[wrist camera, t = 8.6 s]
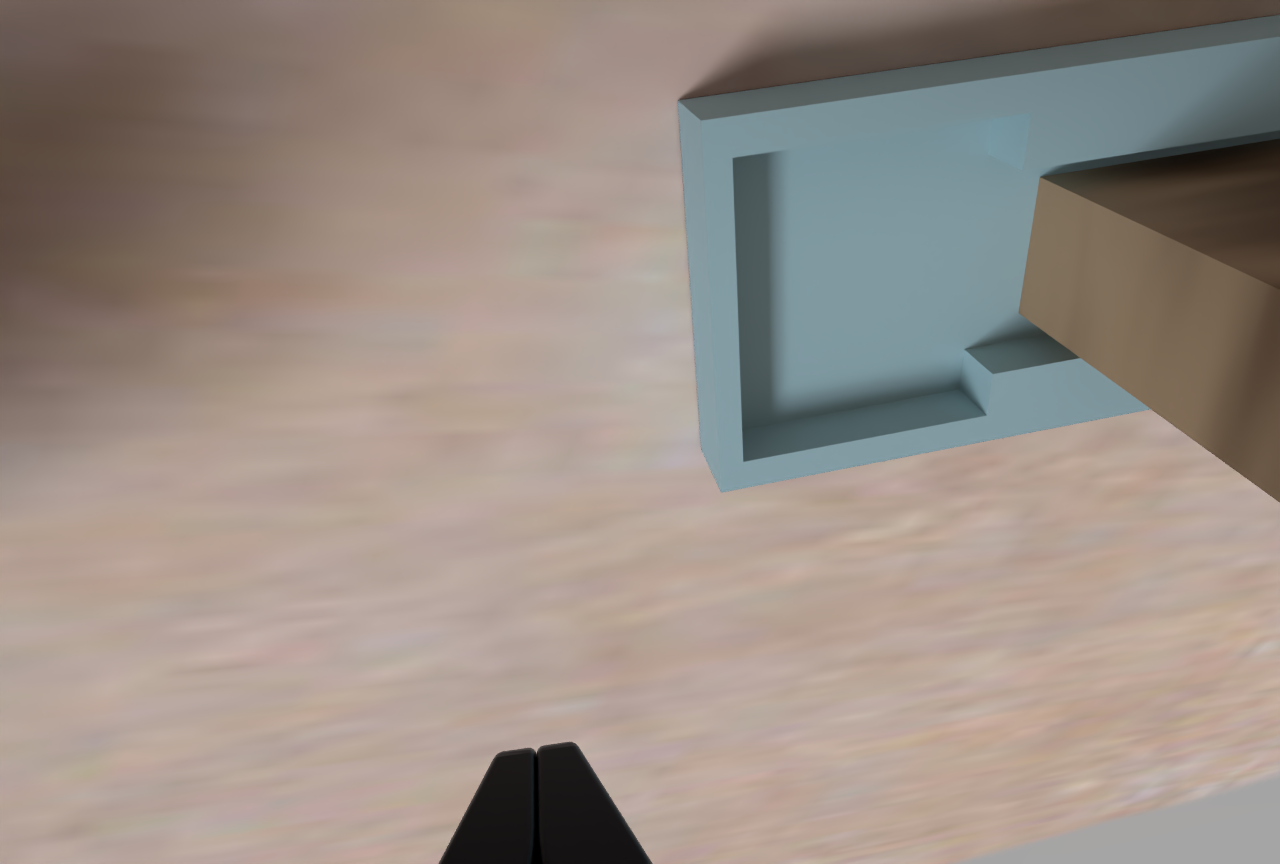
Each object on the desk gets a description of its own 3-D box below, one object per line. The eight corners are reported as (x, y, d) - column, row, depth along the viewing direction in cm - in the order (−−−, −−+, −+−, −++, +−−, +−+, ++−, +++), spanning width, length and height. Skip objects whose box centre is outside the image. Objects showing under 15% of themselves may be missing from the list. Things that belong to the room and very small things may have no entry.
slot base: (701, 449, 23) (739, 531, 20) (677, 100, 18) (722, 140, 15) (1390, 320, 25) (1517, 376, 22) (1531, -21, 21) (1718, -8, 18)
